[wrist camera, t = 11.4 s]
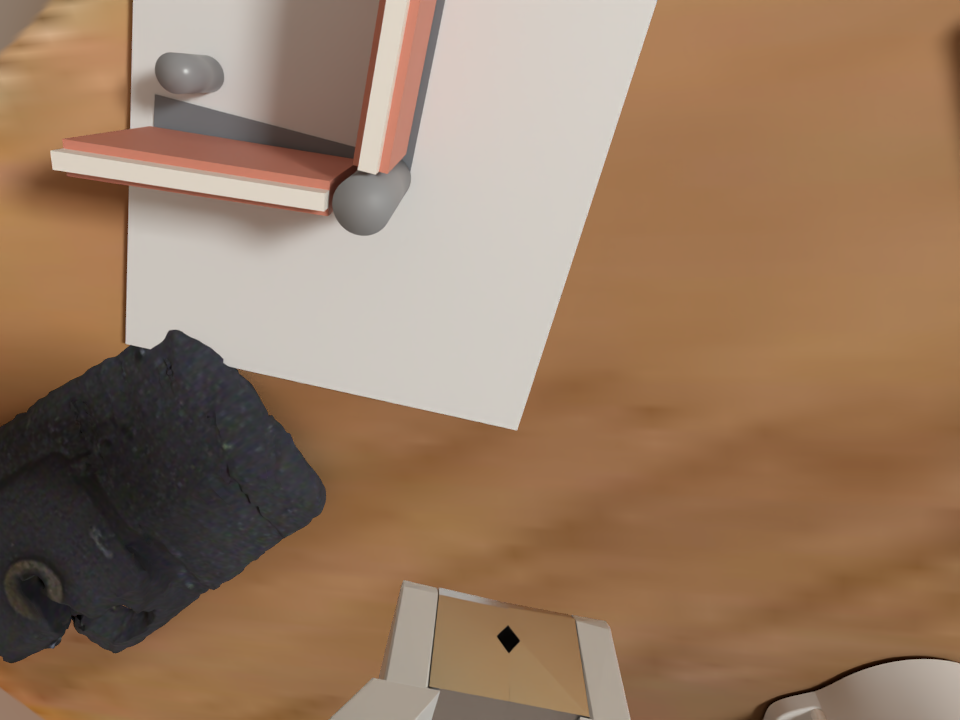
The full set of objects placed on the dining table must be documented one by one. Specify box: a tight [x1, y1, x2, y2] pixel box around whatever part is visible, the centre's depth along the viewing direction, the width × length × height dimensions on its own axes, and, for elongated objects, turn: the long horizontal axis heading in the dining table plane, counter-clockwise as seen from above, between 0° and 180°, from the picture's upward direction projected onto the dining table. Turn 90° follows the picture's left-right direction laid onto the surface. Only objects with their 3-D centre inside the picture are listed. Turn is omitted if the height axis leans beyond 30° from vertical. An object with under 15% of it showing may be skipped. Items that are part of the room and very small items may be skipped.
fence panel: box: [50, 126, 358, 216], centre depth 23 cm, size 9×1×7 cm, turn 81°
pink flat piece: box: [332, 0, 437, 236], centre depth 22 cm, size 10×2×7 cm, turn 166°
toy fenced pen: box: [126, 0, 657, 430], centre depth 26 cm, size 21×20×4 cm
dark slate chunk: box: [0, 330, 326, 663], centre depth 33 cm, size 15×22×5 cm
